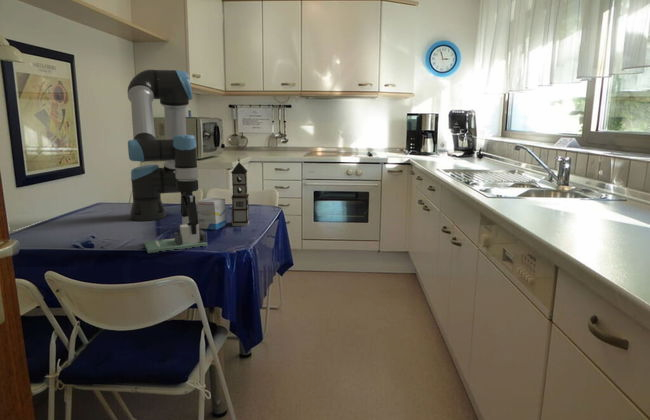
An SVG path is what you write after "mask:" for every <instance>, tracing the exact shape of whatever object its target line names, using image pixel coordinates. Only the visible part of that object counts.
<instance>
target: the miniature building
mask: <svg viewBox="0 0 650 420" xmlns="http://www.w3.org/2000/svg"><path fill="white" fill-rule="evenodd" d="M237 161H238V163H237V164H236V166H235V167H234V168H233V170H232V171H231V172H230V173H231V181H232V195H231V201H232V205H231V206H232V207H231V208H232V209H231V226H232V227H249V225H250V217H249V215H250V212H249V211H250V210H249V208H250V207H249V195H250V194H249V193H248V179H247V178H248V177H247V176H248V174H247V173H248V170H247V169H246V167H244V166H243V165H242V164H241V162H240V161H241V159H240V158H238V159H237Z"/></svg>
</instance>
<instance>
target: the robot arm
mask: <svg viewBox="0 0 650 420" xmlns="http://www.w3.org/2000/svg"><path fill="white" fill-rule="evenodd" d="M192 89H193V88H192V84H191V79H190V76H189V74H188V72H187V71H184V70H177V69H145V70H142V71H140V72H138V73H137V74H136V75H134V77H133V78H132V79H131V80H130V82H129V85H128V87H127V98H128V100H129V102H130V106H131V121H132V137H133V139H130V140H128V141H127V149H128V153H127V154H128V159H129V160H130V161H131V162H140V163H141V162H142V163H143V162H156V161H157V162H158V161H164V163H163V167H160V165H158V164H147V165H141V166H136V167H134V168H133V169H131V172H130V175H131V176H130V180H131V188H132V189H131V191H132V206H131V209H130V212H129V217H130V220H132V221H136V222H138V221H139V222H143V221H144V222H145V221H155V220H161V219H164V218H166V217H167V211H166V208H165V207H164V204H163V201H162V197H161V196H162V195H163V194H179V193H180V214H181V223H182V224H181V225H185V224H187V225H188V226H189V238H190V244H191V243H198V231H197V224H198V223H199V222H198V212H197V202H196V195H194V194H193V192H197V191H198V190H199V180H198V179H199V174H198V173H199V171H198V165H197V164H198V163H197V162H198V158H197V141H196V136H195V135H193V134H187V119H186V115H187V114H186V108H187V107H188V106H189V105H190V101H191V100H193V90H192ZM154 100H159V103H160V105H161V107H163V108H164V109H163V110H164V112H163V113H164V126H165V127H164V128H165V139H156V132H155V131H156V130H155V129H156V128H155V121H154V113H153V112H154V111H153V101H154ZM161 194H162V195H161Z"/></svg>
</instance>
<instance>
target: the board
mask: <svg viewBox="0 0 650 420" xmlns="http://www.w3.org/2000/svg"><path fill="white" fill-rule="evenodd" d="M173 233H174V235H173V236H174V237H173V238H163V239H156V240H155V239H154V240H147V241H144V242H143V245H144V247H145V249H147V250H146V252H147V254H151V253H153V254H154V253H160V252H159V251H162V252H167V251H166V250H170V251H175V250H174V249H179V250H185V248H187V249H193V248H192V247H195V248H201V247H200V246H203V247H208V246H209V244H208V242H207V234H206V232H205V231H204V229H199V236H200V242H198V243H191V244H190V243H187V244H182V242H181V236H180V232H178V231H177V232H173Z"/></svg>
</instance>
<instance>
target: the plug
mask: <svg viewBox="0 0 650 420" xmlns="http://www.w3.org/2000/svg"><path fill="white" fill-rule="evenodd" d="M199 230H200V228H199V225H198V224H197V231H198V242H200V236H199ZM179 235H180V236H181V242H182V244H187V243H190V238H189V226H188V225H187V224H185V225H182V224H179Z"/></svg>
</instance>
